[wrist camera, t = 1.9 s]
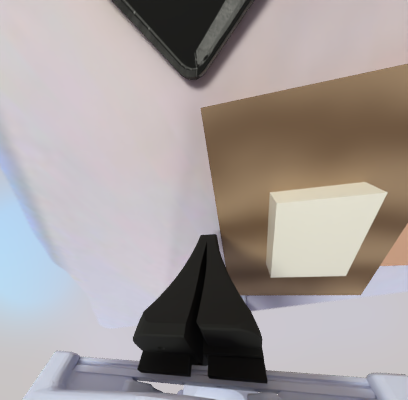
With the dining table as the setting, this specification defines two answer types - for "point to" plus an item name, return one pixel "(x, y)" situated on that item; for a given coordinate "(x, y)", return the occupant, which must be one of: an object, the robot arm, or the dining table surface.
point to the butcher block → (309, 169)
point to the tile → (319, 228)
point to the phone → (186, 28)
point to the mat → (398, 251)
